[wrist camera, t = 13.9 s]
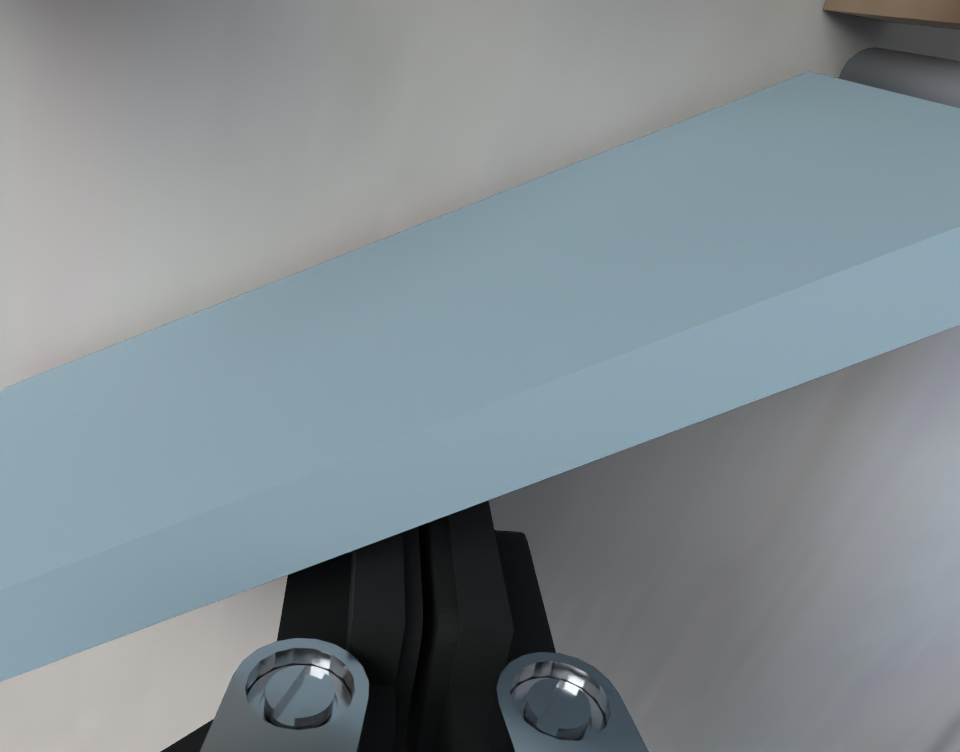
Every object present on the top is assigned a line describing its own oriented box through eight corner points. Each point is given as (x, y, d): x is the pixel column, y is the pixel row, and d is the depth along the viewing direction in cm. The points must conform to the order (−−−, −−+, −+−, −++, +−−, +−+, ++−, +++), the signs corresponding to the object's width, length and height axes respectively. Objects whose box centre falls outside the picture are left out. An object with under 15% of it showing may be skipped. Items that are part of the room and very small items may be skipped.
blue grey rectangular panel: (901, 100, 13) (1294, 200, 8) (40, 435, 14) (-180, 749, 9) (894, 37, 13) (1305, 96, 7) (5, 387, 14) (-254, 685, 8)
